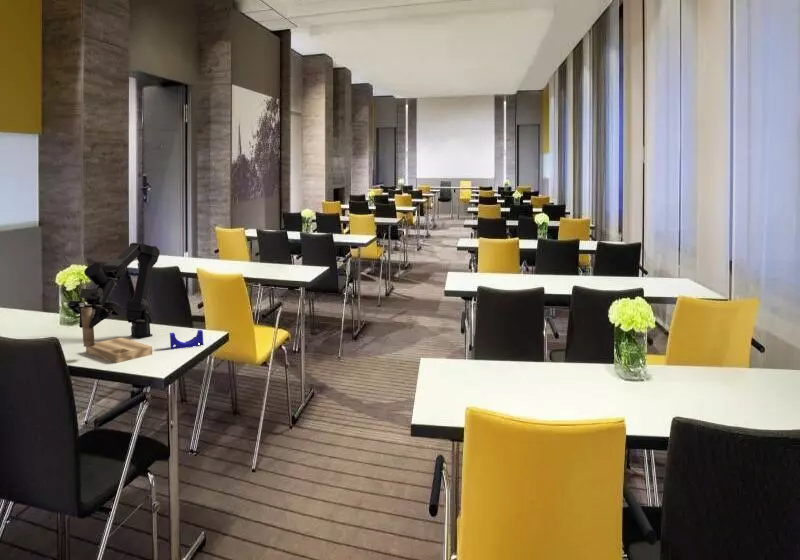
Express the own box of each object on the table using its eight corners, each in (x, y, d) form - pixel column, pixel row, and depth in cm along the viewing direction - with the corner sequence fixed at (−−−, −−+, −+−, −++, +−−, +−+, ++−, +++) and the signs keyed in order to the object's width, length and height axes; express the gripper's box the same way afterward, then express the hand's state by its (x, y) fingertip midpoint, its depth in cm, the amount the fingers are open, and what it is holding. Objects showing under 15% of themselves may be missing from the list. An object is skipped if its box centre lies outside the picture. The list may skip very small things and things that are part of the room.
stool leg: (91, 343, 214) (88, 306, 212) (96, 345, 212) (94, 307, 210) (81, 345, 211) (78, 308, 209) (86, 347, 209) (83, 309, 207)
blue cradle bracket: (201, 343, 236) (200, 329, 235) (203, 346, 232) (202, 331, 231) (170, 346, 230) (169, 332, 229) (171, 349, 226) (170, 334, 225)
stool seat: (121, 344, 231) (121, 337, 231) (152, 354, 219) (151, 346, 218) (86, 352, 220) (85, 344, 219) (116, 363, 208) (115, 354, 207)
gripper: (68, 278, 213) (49, 314, 204) (115, 280, 210) (97, 316, 201) (84, 295, 222) (66, 330, 213) (129, 297, 219) (113, 333, 210)
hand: (85, 327), depth 209 cm, fingers closed on stool leg, 4 cm apart
